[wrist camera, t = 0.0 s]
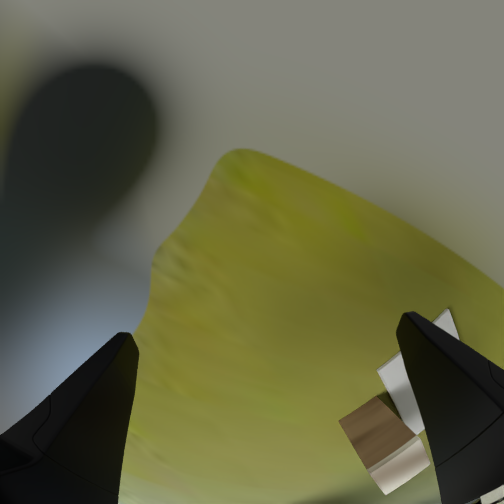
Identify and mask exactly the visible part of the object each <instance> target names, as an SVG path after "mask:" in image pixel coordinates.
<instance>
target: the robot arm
mask: <svg viewBox="0 0 504 504" xmlns="http://www.w3.org/2000/svg"><path fill="white" fill-rule="evenodd" d="M396 336H397V340H398V344H399V347H400V351H401V354H402V358H403V362H404V366H405V370H406V373H407V376H408V379H409V382H410V385H411V387H412V390H413V393H414V396H415V399H416V402H417V405H418V408H419V411H420V414H421V418H422V421H423V424H424V428H425V431H426V435H427V438H428V442H429V446H430V449H431V453H432V457H433V461H434V466H435V467H436V468H435V471H436V475H437V480H438V485H439V490H440V495H441V501H442V504H465V503H468V502H470V501H472V500H474V499H477V498H479V499H478V500H476V501H475V502H473V503H472V504H504V370H503V369H502V368H500V367H499V366H497V365H496V364H494V363H493V362H491V361H490V360H487V358H485V357H484V356H482V355H481V354H479V353H478V352H476V351H475V350H473V349H472V348H470V347H469V346H467V345H466V344H464V343H463V342H461V341H460V340H458V339H457V338H455V337H454V336H452V335H451V334H449V333H448V332H446V331H444V330H443V329H441V328H440V327H438V326H437V325H435V324H434V323H432V322H430V321H429V320H427V319H426V318H424V317H423V316H421V315H419V314H418V313H416V312H414V311H411V312H406V313H403V315H402V317H401V319H400V322H399V325H398V327H397V331H396ZM138 360H139V350H138V347H137V345H136V343H135V341H134V339H133V337H132V335H131V334H130V333H128V332H119V333H117V334H116V335H115V336H114V337H113V338H111V339H110V340H109V341H108V342H107V343H106V344H105V345H103V346H102V347H101V348H100V349H99V350H98V351H97V352H96V353H94V354H93V355H92V356H91V357H90V358H89V359H88V360H87V361H85V362H84V363H83V364H82V365H81V366H80V367H79V368H78V369H77V370H76V371H74V372H73V373H72V374H71V375H70V376H69V377H68V378H67V379H66V380H65V381H64V382H63V383H61V384H60V385H59V386H58V387H57V388H56V389H55V390H54V391H53V392H52V393H51V394H50V395H48V396H47V397H46V398H45V399H44V400H43V401H42V402H41V403H40V404H39V405H38V406H36V407H35V408H34V409H33V410H32V411H31V412H30V413H28V414H27V415H26V416H25V417H23V418H22V419H21V420H19V421H18V422H17V423H16V424H14V425H13V426H12V427H10V428H9V429H8V430H7V431H5V432H4V433H3V434H1V435H0V504H118V497H119V496H118V495H119V486H120V478H121V470H122V463H123V456H124V449H125V443H126V437H127V431H128V426H129V421H130V415H131V410H132V405H133V400H134V395H135V387H136V378H137V369H138Z"/></svg>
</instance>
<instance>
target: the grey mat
mask: <svg viewBox="0 0 504 504" xmlns="http://www.w3.org/2000/svg"><path fill="white" fill-rule="evenodd" d="M432 323H434V324H435V325H437V326H438V327H440V328H441V329H443V330H444V331H446V332H448V333H449V334H451V335H452V336H454V337H455V338H457V339H458V340H459V337H458V334H457V331H456V328H455V325H454V322H453V319H452V316H451V314H450V311H449V309H445V310H444V311H443V312H442V313H441V314H440V315H439V316H438V317H437V318H436V319H435V320H434V321H433V322H432ZM377 372H378V374H379V376H380V377H381V379H382V381H383V383H384V385H385V387H386V389H387V391H388V393H389V395H390V397H391V399H392V401H393V403H394V405H395V407H396V409H397V411H398V413H399V415H400V417H401V419H402V421H403V422H404V423H405V424H406V425H407V426H408V427H409V428H410V429H411V430H412V431H413V432H414V433H415V434H416V435H418V434H419V433H420V432H421V431H423V430H424V429H425V428H424V424H423V421H422V418H421V414H420V411H419V408H418V405H417V402H416V399H415V396H414V393H413V390H412V387H411V385H410V382H409V379H408V376H407V373H406V370H405V366H404V362H403V358H402V354H401V351H400V352H398V353H397V354H396V355H395V356H393V357H392V358H391V359H390V360H388V361H387V362H386V363H385V364H383V365H382V366H381V367H379V368H378V369H377Z"/></svg>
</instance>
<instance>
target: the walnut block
mask: <svg viewBox="0 0 504 504" xmlns="http://www.w3.org/2000/svg"><path fill="white" fill-rule="evenodd" d="M339 423H340V425H341V426H342V428H343V430H344V432H345V433H346V435H347V437H348V438H349V440H350V442H351V443H352V445H353V447H354V449H355V450H356V452H357V454H358V455H359V457H360V459H361V461H362V462H363V464H364V466H365V467H366V469H367V471H368V472H369V474H370V475H371V477H372V478H373V479H374V481H375V482H376V483H377V485H378V486H379V487H380V489H381V490H382V491H383V493H384V494H385V495H387V494H388V493H390V492H392V491H393V490H395V489H396V488H398V487H399V486H401V485H402V484H404V483H405V482H407V481H408V480H410V479H411V478H412V477H414V476H415V475H417V474H418V473H419V472H421V471H422V470H423V469H425V468H426V467H427V466H429V465H430V461H429V459H428V456H427V454H426V451H425V449H424V446H423V444H422V442H421V439H420V438H419V437H418V436H417V435H416V434H415V433H414V432H413V431H412V430H411V429H410V428H409V427H408V426H407V425H406V424H405V423H404V422H403V421H401V420H400V419H399V418H398V417H397V416H396V415H395V414H394V413H393V412H392V411H391V410H390V409H389V408H388V407H387V406H386V405H385V404H384V403H383V402H382V401H381V400H380V399H379V398H378V397H377V396H375V397H374V398H372V399H371V400H369V401H368V402H367V403H365V404H364V405H362V406H361V407H359V408H358V409H356V410H355V411H353V412H352V413H350V414H349V415H347V416H346V417H344V418H342V419H341V420H339Z"/></svg>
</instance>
